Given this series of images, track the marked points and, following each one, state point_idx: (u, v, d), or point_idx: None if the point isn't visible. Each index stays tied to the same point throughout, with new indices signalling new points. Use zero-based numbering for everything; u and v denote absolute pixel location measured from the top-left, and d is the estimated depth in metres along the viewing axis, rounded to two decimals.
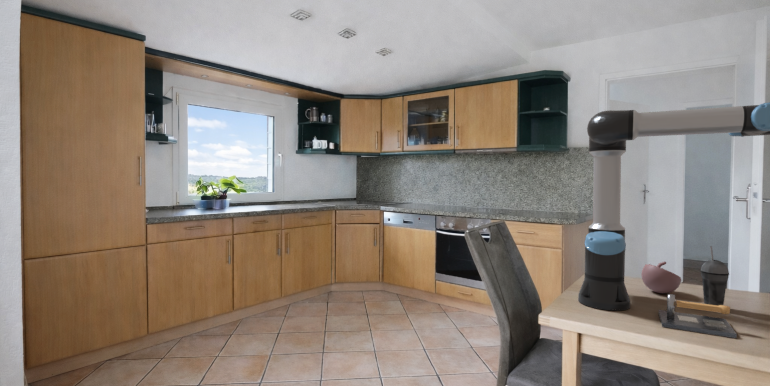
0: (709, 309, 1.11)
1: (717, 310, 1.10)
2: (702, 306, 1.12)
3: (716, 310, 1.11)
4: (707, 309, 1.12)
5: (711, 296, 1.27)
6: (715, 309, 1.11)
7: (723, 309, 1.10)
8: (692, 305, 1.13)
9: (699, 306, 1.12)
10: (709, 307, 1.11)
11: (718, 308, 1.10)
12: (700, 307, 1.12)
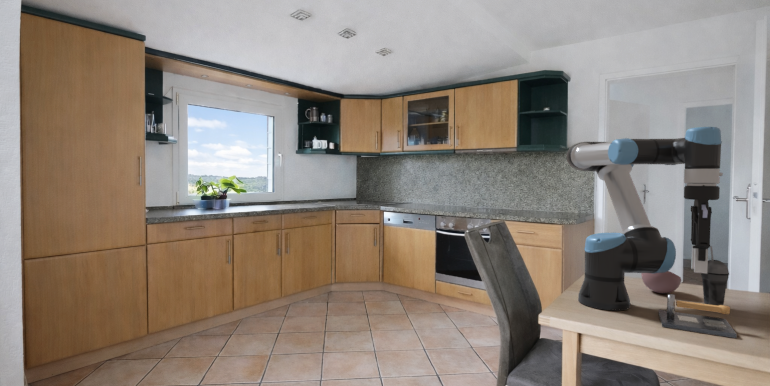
0: (709, 309, 1.11)
1: (717, 310, 1.10)
2: (702, 306, 1.12)
3: (716, 310, 1.11)
4: (707, 309, 1.12)
5: (711, 296, 1.27)
6: (715, 309, 1.11)
7: (723, 309, 1.10)
8: (692, 305, 1.13)
9: (699, 306, 1.12)
10: (709, 307, 1.11)
11: (718, 308, 1.10)
12: (700, 307, 1.12)
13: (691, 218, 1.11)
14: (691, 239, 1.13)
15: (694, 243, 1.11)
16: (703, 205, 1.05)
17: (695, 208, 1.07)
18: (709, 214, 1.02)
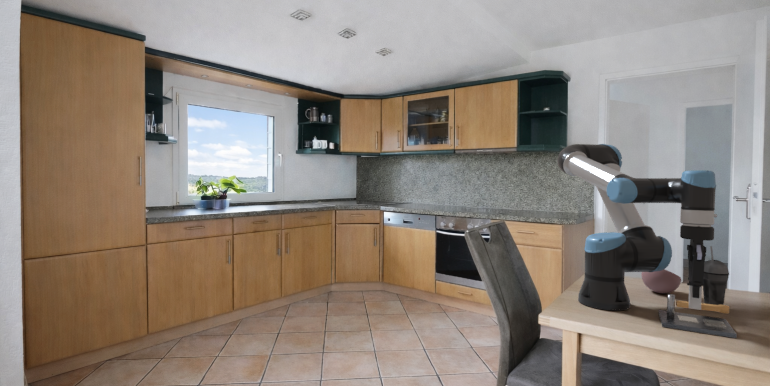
0: (709, 309, 1.12)
1: (717, 309, 1.11)
2: (702, 306, 1.12)
3: (716, 309, 1.11)
4: (707, 309, 1.12)
5: (711, 296, 1.27)
6: (715, 308, 1.11)
7: (723, 308, 1.10)
8: None
9: None
10: (709, 307, 1.12)
11: (718, 307, 1.11)
12: None
13: None
14: (688, 278, 1.16)
15: None
16: (698, 246, 1.09)
17: (691, 248, 1.12)
18: (703, 257, 1.07)
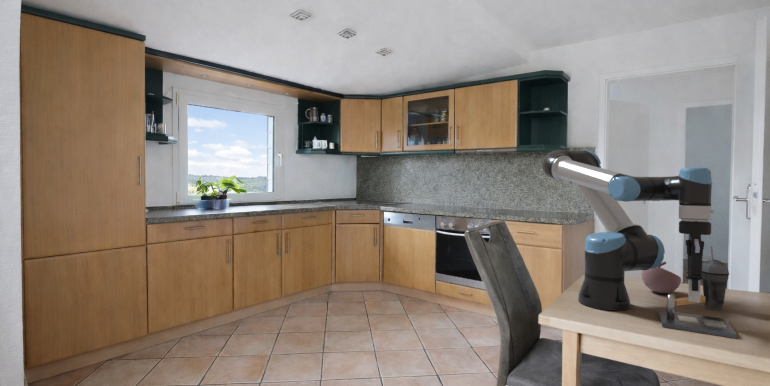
0: None
1: None
2: None
3: None
4: (694, 302, 1.18)
5: (711, 296, 1.27)
6: None
7: (703, 299, 1.19)
8: (686, 301, 1.17)
9: None
10: None
11: (700, 299, 1.19)
12: None
13: None
14: (688, 272, 1.19)
15: None
16: (696, 240, 1.14)
17: (689, 242, 1.16)
18: (701, 250, 1.11)
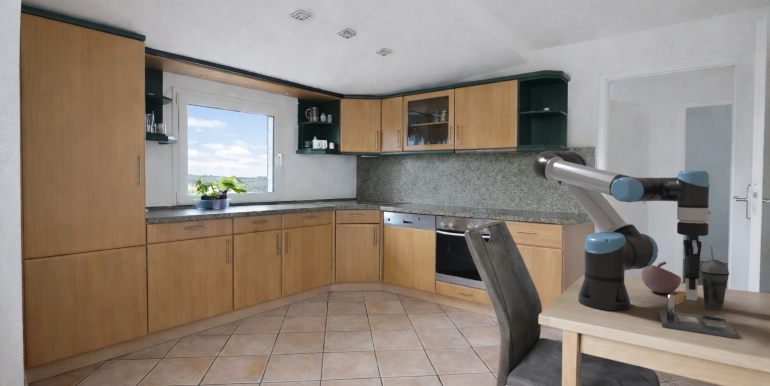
0: (683, 298, 1.21)
1: None
2: (682, 297, 1.20)
3: None
4: (683, 299, 1.21)
5: (711, 296, 1.27)
6: None
7: None
8: (680, 299, 1.19)
9: (681, 298, 1.20)
10: (683, 296, 1.21)
11: (685, 295, 1.22)
12: (681, 299, 1.20)
13: (684, 251, 1.23)
14: (685, 271, 1.24)
15: None
16: (694, 241, 1.17)
17: (687, 243, 1.20)
18: (699, 251, 1.15)
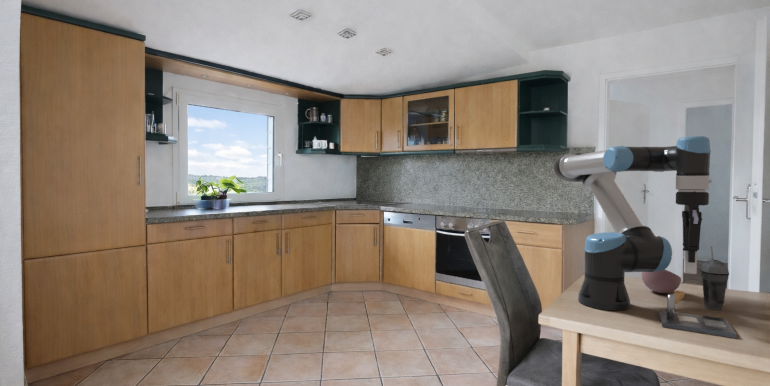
0: (681, 298, 1.22)
1: (682, 297, 1.23)
2: (679, 297, 1.21)
3: (681, 297, 1.23)
4: (680, 298, 1.22)
5: (711, 296, 1.27)
6: (681, 296, 1.23)
7: (683, 294, 1.24)
8: (678, 299, 1.19)
9: (679, 298, 1.20)
10: (681, 296, 1.22)
11: (682, 294, 1.23)
12: (679, 298, 1.20)
13: (683, 223, 1.17)
14: (683, 244, 1.18)
15: (686, 248, 1.16)
16: (694, 211, 1.11)
17: (686, 213, 1.13)
18: (699, 221, 1.09)
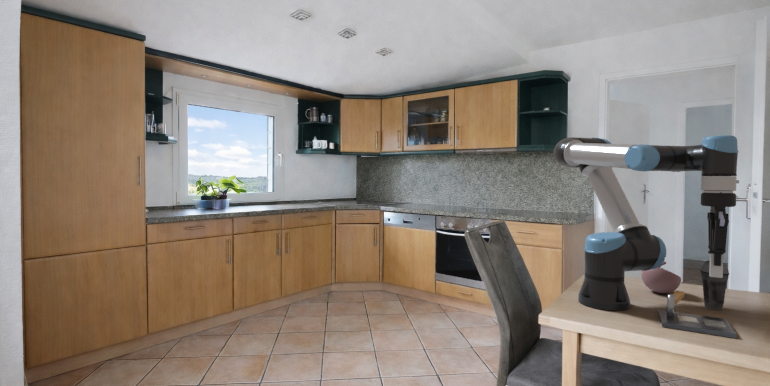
0: (681, 298, 1.22)
1: (682, 297, 1.23)
2: (679, 297, 1.21)
3: (681, 297, 1.23)
4: (680, 298, 1.22)
5: (711, 296, 1.27)
6: (681, 296, 1.23)
7: (683, 294, 1.24)
8: (678, 299, 1.19)
9: (679, 298, 1.20)
10: (681, 296, 1.22)
11: (682, 294, 1.23)
12: (679, 298, 1.20)
13: (708, 225, 1.13)
14: (709, 246, 1.14)
15: (712, 251, 1.12)
16: (720, 212, 1.07)
17: (712, 215, 1.10)
18: (726, 223, 1.05)
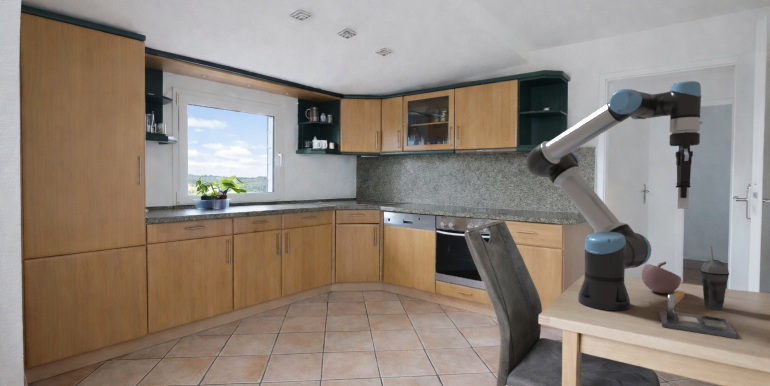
0: (681, 298, 1.22)
1: (682, 297, 1.23)
2: (679, 297, 1.21)
3: (681, 297, 1.23)
4: (680, 298, 1.22)
5: (711, 296, 1.27)
6: (681, 296, 1.23)
7: (683, 294, 1.24)
8: (678, 299, 1.19)
9: (679, 298, 1.20)
10: (681, 296, 1.22)
11: (682, 294, 1.23)
12: (679, 298, 1.20)
13: (676, 163, 1.27)
14: (677, 183, 1.28)
15: None
16: (685, 149, 1.21)
17: (679, 153, 1.23)
18: (690, 158, 1.19)
